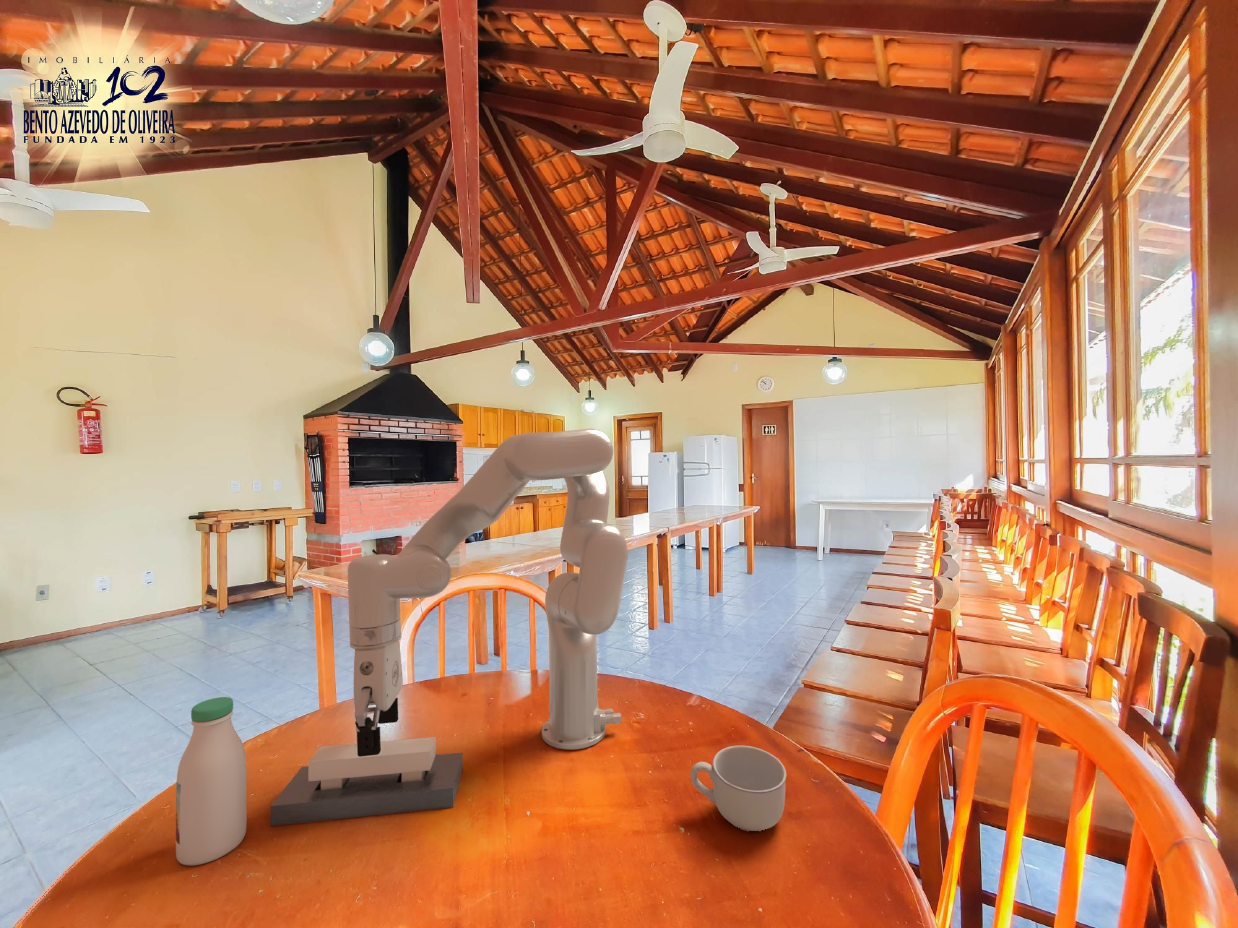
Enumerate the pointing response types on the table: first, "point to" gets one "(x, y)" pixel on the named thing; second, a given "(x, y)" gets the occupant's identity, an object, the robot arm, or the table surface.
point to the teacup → (745, 786)
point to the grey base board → (368, 794)
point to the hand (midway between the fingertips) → (379, 737)
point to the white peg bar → (372, 762)
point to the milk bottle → (211, 786)
